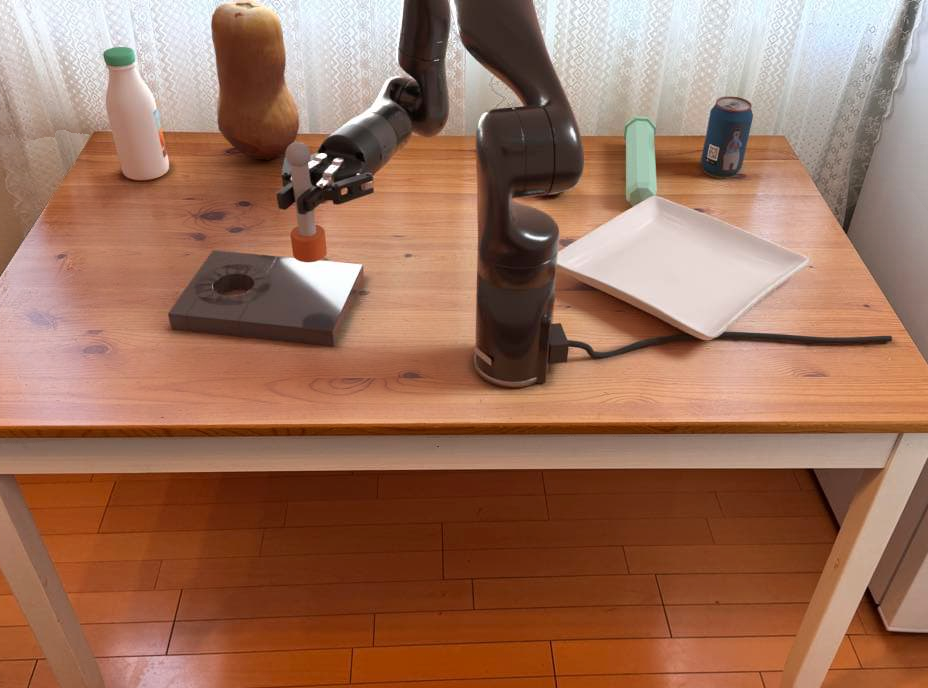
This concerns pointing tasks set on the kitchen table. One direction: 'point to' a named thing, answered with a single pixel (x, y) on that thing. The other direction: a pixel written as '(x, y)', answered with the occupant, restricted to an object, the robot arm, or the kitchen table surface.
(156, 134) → the milk bottle
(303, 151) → the stopper
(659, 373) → the kitchen table surface
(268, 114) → the butternut squash
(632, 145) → the container
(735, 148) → the soda can
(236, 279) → the dark grey slab
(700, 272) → the square plate
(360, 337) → the kitchen table surface
